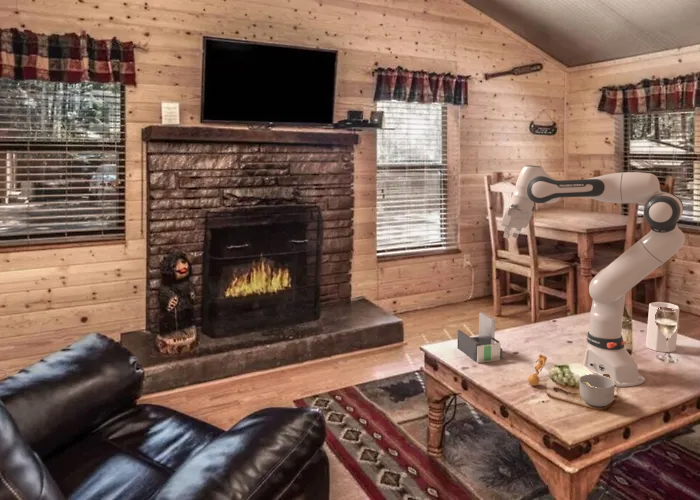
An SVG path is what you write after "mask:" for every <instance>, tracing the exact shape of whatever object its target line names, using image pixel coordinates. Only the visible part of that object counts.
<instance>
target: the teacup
mask: <svg viewBox="0 0 700 500" xmlns="http://www.w3.org/2000/svg"><path fill="white" fill-rule="evenodd" d="M578 382H579V383H578V385H579V395H580V397H581V399H582V400H583V401H584V402H585V403H587V404H588V405H590V406H592V407H598V408H599V407H605V406H608V405H609V404H611V403H612V402H613V401H614V398H615V390H616V389H615V387H616V386H615V382H614V380H613V379H611V378H609V377H606V376H603V375H598V373H593V374H589V375H587V374H584V375H581V376H580V377H579V379H578ZM583 382H588V383H589V384H590V385H591V386H594V387H590V386H587V385H585V384H583ZM595 387H597V388H595Z"/></svg>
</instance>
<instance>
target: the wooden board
mask: <svg viewBox="0 0 700 500" xmlns="http://www.w3.org/2000/svg"><path fill="white" fill-rule="evenodd" d="M495 328H496V319H495V318H494V317H492V316H490V315H489V314H487V313H485V312H483V311H481V312H479V313H478V336H479V344H480V345H487V344H495V342H496V343H500V341H499V340H497V339H496V338H495V332H496V330H495Z"/></svg>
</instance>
